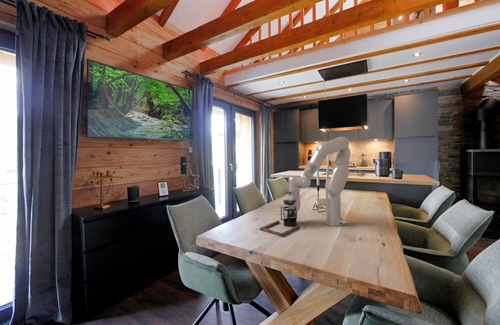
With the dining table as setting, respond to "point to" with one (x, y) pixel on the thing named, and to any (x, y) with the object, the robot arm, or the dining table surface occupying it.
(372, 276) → the dining table surface
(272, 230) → the walnut bay
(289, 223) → the french press
